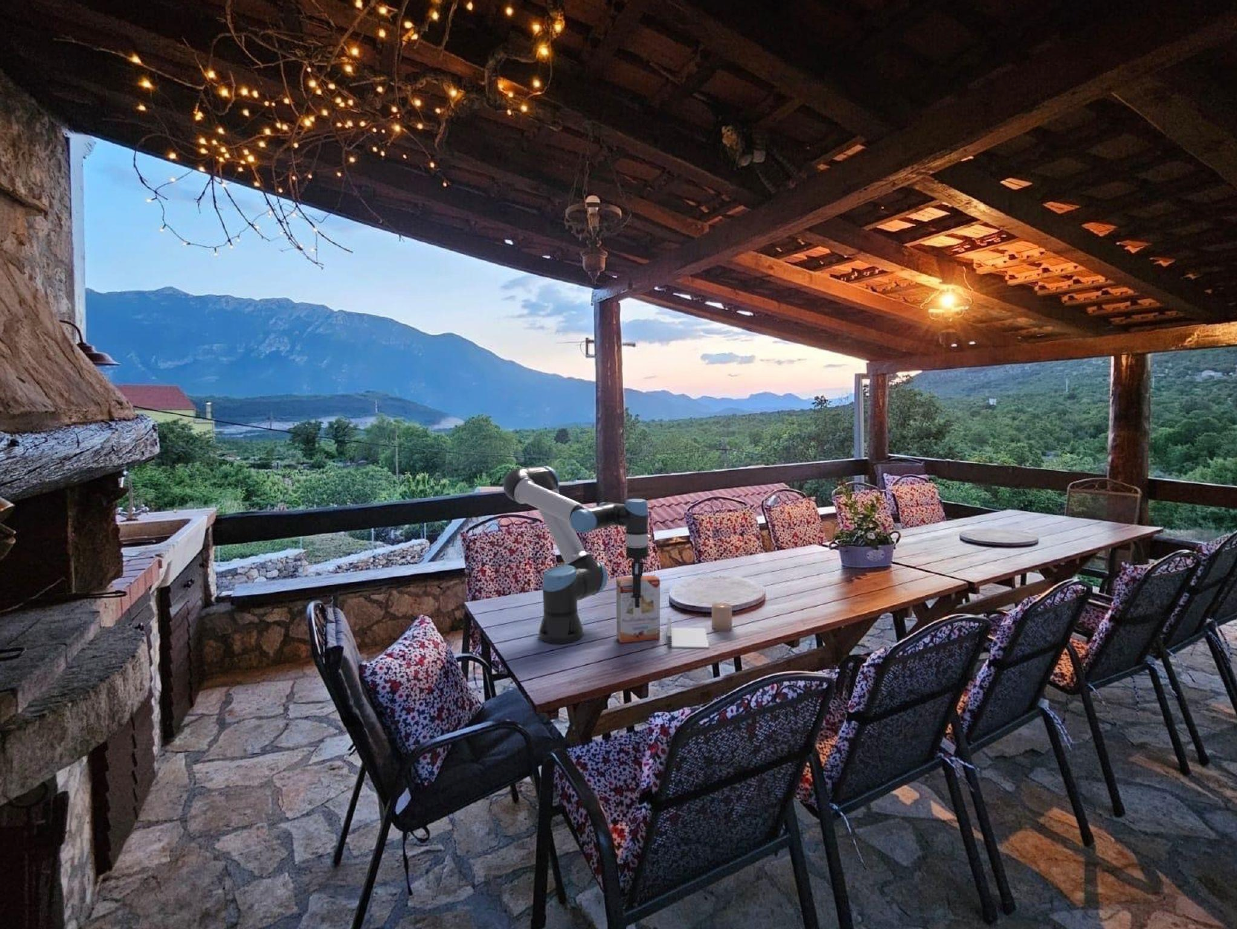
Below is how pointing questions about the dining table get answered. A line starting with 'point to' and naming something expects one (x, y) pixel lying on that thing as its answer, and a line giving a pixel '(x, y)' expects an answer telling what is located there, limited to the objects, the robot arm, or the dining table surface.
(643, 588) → the cracker box
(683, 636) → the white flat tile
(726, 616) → the peach domed knob
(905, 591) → the dining table surface
